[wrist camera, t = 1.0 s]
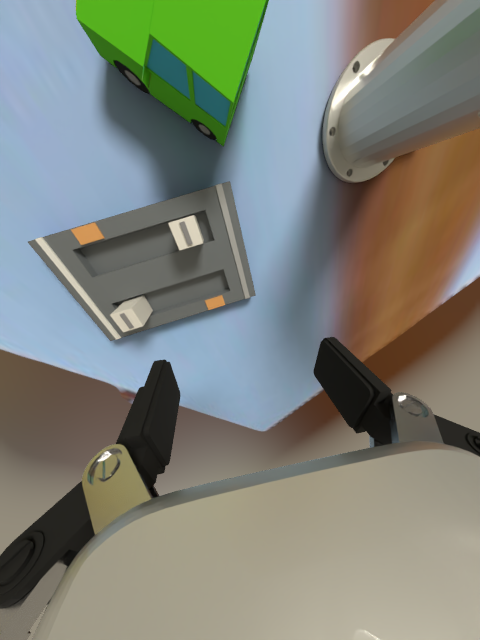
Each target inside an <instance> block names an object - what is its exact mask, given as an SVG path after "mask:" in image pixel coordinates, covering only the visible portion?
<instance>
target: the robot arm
mask: <svg viewBox="0 0 480 640" xmlns="http://www.w3.org/2000/svg"><path fill="white" fill-rule="evenodd" d="M478 128H480V0H435V1H434V2H433V3H432V4H431V5H430V6H429V7H428V8H427V9H426V10H425V11H424V12H423V13H422V14H421V15H420V16H419V17H418V18H417V19H416V20H415V21H413V22H412V23H411V24H410V25H409V26H408V27H407V28H406V29H405V30H404V31H403V32H402V33H401V34H400V35H399V36H398V37H397V38H396V39H393V38H385V39H380V40H377V41H375V42H373V43H371V44H369V45H368V46H366V47H365V48H364V49H363V50H361V51H360V52H359V53H358V54H357V55H356V56H355V57H354V58H353V60H352V61H351V62H350V63H349V64H348V65H347V67H346V68H345V69H344V71H343V72H342V73H341V75H340V77H339V79H338V80H337V82H336V84H335V86H334V88H333V91H332V93H331V95H330V98H329V101H328V104H327V108H326V111H325V116H324V123H323V139H322V140H323V149H324V154H325V158H326V161H327V164H328V166H329V168H330V170H331V171H332V172H333V173H334V175H335V176H336V177H338V178H339V179H340V180H342V181H345V182H347V183H358V182H363V181H366V180H369V179H371V178H373V177H375V176H377V175H378V174H379V173H381V172H382V171H383V170H384V169H386V168H387V166H388V165H389V164H390V163H391V162H392V161H393V160H394V159H395V157H398V156H401V155H404V154H407V153H409V152H412V151H415V150H418V149H421V148H424V147H427V146H430V145H432V144H435V143H438V142H441V141H444V140H447V139H450V138H452V137H455V136H458V135H461V134H464V133H467V132H470V131H472V130H475V129H478ZM329 134H330V135H329ZM314 375H315V377H316V378H317V380H318V381H319V383H320V384H321V386H322V387H323V389H324V390H325V392H326V393H327V394H328V396H329V397H330V399H331V400H332V402H333V403H334V405H335V406H336V408H337V409H338V411H339V412H340V413H341V415H342V417H343V418H344V420H345V421H346V422H347V424H348V425H349V426H350V427H351V428H353V429H354V430H355V432H356V433H361V432H365V431H367V433H368V434H369V435H370V448H367V449H363V450H358V451H353V452H348V453H343V454H339V455H334V456H330V457H325V458H320V459H316V460H311V461H307V462H302V463H297V464H293V465H288V466H284V467H279V468H275V469H270V470H265V471H261V472H256V473H252V474H248V475H243V476H239V477H234V478H230V479H225V480H221V481H216V482H212V483H208V484H204V485H200V486H195V487H192V488H188V489H183V490H180V491H175V492H172V493H169V494H165V495H162V496H159V494H158V493H157V491H156V489H155V487H154V484H155V482H156V478H157V474H162V473H164V470H165V465H168V464H169V461H170V456H171V450H172V444H173V438H174V432H175V425H176V419H177V413H178V407H179V401H180V391H179V388H178V385H177V382H176V379H175V376H174V373H173V370H172V367H171V364H170V362H167V361H166V360H159V361H154V363H153V365H152V368H151V370H150V373H149V375H148V378H147V381H146V383H145V386H144V387H140V388H139V390H138V392H137V394H136V397H135V399H134V401H133V404H132V406H131V409H130V411H129V413H128V416H127V418H126V421H125V423H124V426H123V428H122V430H121V433H120V435H119V438H118V440H117V442H116V444H113V445H111V446H108V447H106V448H104V449H103V450H101V451H100V452H99V453H98V454H96V455H95V456H94V457H93V459H92V460H91V461H90V462H89V464H88V465H87V467H86V469H85V471H84V473H83V477H82V481H81V482H80V483H79V484H78V485H77V486H75V487H74V488H73V489H72V490H71V491H70V492H69V493H67V494H66V495H65V496H64V497H63V498H62V499H61V500H60V501H58V502H57V503H56V504H55V505H54V506H53V507H52V508H50V509H49V510H48V511H47V512H46V513H45V514H44V515H43V516H41V517H40V518H39V519H38V520H37V521H36V522H35V523H33V524H32V525H31V526H30V527H29V528H28V529H27V530H25V531H24V532H23V533H22V534H21V535H20V536H19V537H18V538H17V539H15V540H14V541H13V542H12V543H11V544H10V545H9V546H8V547H7V548H6V549H5V551H4V552H3V553H2V554H1V556H0V640H27V639H28V637H29V636H30V634H31V632H30V631H29V630H30V629H31V627H32V626H33V624H34V623H35V621H36V620H37V618H38V617H39V615H40V614H41V612H42V611H43V609H44V608H45V606H46V605H47V604H48V606H47V608H46V610H45V612H44V614H43V616H42V619H41V621H40V623H39V625H38V627H37V629H36V631H35V634H34V636H33V638H32V640H480V433H479V432H476V431H474V430H471V429H469V428H466V427H464V426H461V425H459V424H456V423H454V422H451V421H449V420H446V419H444V418H441V417H439V416H436V415H434V414H433V412H432V410H431V409H430V408H429V407H428V406H427V404H425V403H424V402H423V401H422V400H420V399H418V398H417V397H415V396H412V395H410V394H407V393H395V394H394V395H393V394H392V393H391V389H390V388H389V387H387V386H386V385H385V384H384V383H383V382H382V381H381V380H380V379H379V378H378V377H377V376H376V375H375V374H374V373H372V372H371V371H370V370H369V369H368V368H367V367H366V366H365V365H364V364H363V363H362V362H361V361H360V360H359V359H357V358H356V357H355V356H354V355H353V354H352V353H351V352H350V351H349V350H348V349H347V348H346V347H345V346H343V345H342V344H341V343H340V342H339V341H338V340H337V339H336V338H335V337H330V338H324V339H323V341H321V344H320V348H319V352H318V356H317V360H316V363H315V367H314Z"/></svg>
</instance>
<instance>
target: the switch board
mask: <svg viewBox="0 0 480 640" xmlns="http://www.w3.org/2000/svg"><path fill="white" fill-rule="evenodd" d="M193 215H194V216H196V218H197V221H198V224H199V227H200V230H201V233H202V236H203V239H204V241H203V243H202V244H199V245H196V246H193V247H189V248H186V249H183V250H179V248H178V246H177V243H176V241H175V238H174V236H173V234H172V231H171V229H170V227H169V224H168V223H169V222H173V221H176V220H179V219H183V218H186V217H189V216H193ZM28 243H29V244H30V246H31V247H32V248H33V249H34V250H35V252H36V253H37V254H38V255H39V256H40V257H41V259H42V260H43V261H44V262H45V263H46V265H47V266H48V267H49V268H50V269H51V271H52V272H53V273H54V274H55V275H56V277H57V278H58V279H59V280H60V281H61V283H62V284H63V285H64V286H65V287H66V288H67V290H68V291H69V292H70V293H71V294H72V296H73V297H74V298H75V299H76V300H77V302H78V303H79V304H80V305H81V306H82V308H83V309H84V310H85V311H86V312H87V314H88V315H89V316H90V317H91V318H92V320H93V321H94V322H95V323H96V324H97V325H98V327H99V328H100V329H101V330H102V331H103V333H104V334H105V335H106V336H107V337H108V339H109V340H110V341H112V340H115V339H116V340H117V339H120V338H122V337H125V336H128V335H131V334H134V333H137V332H141V331H144V330H147V329H150V328H153V327H157V326H160V325H163V324H166V323H169V322H172V321H176V320H179V319H182V318H185V317H188V316H192V315H195V314H198V313H201V312H204V311H207V310H211V309H214V308H217V307H220V306H223V305H227V304H230V303H233V302H236V301H239V300H242V299H247V298H250V297H252V296H255V290H254V286H253V281H252V277H251V273H250V268H249V264H248V259H247V255H246V250H245V246H244V242H243V237H242V233H241V228H240V224H239V220H238V215H237V211H236V206H235V202H234V197H233V193H232V189H231V184H230V181H229V182H226V183H222V184H218V185H215V186H212V187H209V188H206V189H202V190H199V191H196V192H192V193H189V194H186V195H182V196H179V197H176V198H172V199H169V200H166V201H162V202H159V203H156V204H152V205H149V206H146V207H142V208H139V209H136V210H132V211H129V212H126V213H122V214H119V215H116V216H112V217H109V218H105V219H102V220H99V221H95V222H92V223H89V224H85V225H82V226H79V227H75V228H72V229H69V230H65V231H62V232H59V233H55V234H52V235H49V236H45V237H41V238H38V239H35V240H32V241H29V242H28ZM140 295H144V296H145V298H146V300H147V301H148V303H149V305H150V306H151V308H152V310H153V311H152V313H151V314H150V316H149V318H148V319H147V321H146V323H145V324H144V326H142V327H139V328H136V329H133V330H129V331H126V332H122V330H121V329H120V328H119V326H118V325H117V324H116V322H115V321H114V320H113V318H112V317H111V316H110V314H111V313H112V312H114V311H115V310H116V309H117V308H118V307H119V306H120V305H121V304H122V303H123V302H124V301H125V300H128V299H131V298H134V297H137V296H140Z"/></svg>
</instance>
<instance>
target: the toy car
mask: <svg viewBox="0 0 480 640" xmlns="http://www.w3.org/2000/svg"><path fill="white" fill-rule="evenodd" d="M268 1H269V0H76V15H77V20H78V21H79V23H80V24H81V26H82V28H83V29H84V31H85V32H86V34H87V35H88V37H89V38H90V40H91V42H92V43H93V45H94V46H95V48H96V49H97V51H98V53H99V54H100V56H102V57H103V58H104V59H105V60H107V61H108V62H109V63H111V64H112V65H113V66H115V67H116V68H118V69H119V71H120V72H121V73H122V74H123V75H124V76H125V77H126V78H127V79H128V80H129V81H130V82H131V83H132V84H134V85H135V86H136V87H138V88H139V89H140V90H142V91H144V92H146V93H149V92H150V94H151V95H152V96H154V97H155V98H156V99H158V100H159V101H160V102H162V103H163V104H165V105H166V106H167V107H169V108H170V109H172V110H173V111H174V112H176V113H177V114H179V115H180V116H181V117H183V118H184V119H186V120H187V121H188V122H190V123H191V121H192V122H193V124H194V126H195V127H196V128H197V129H198V130H199V131H200V132H201V133H203V134H204V135H205V136H207V137H208V138H210V139H214V140H215V139H217V140H216V141H217V142H218V143H219V144H221V145H222V146H224V143H225V140H226V137H227V134H228V131H229V128H230V125H231V122H232V119H233V116H234V113H235V109H236V106H237V103H238V100H239V97H240V94H241V91H242V88H243V85H244V82H245V79H246V76H247V73H248V70H249V66H250V63H251V60H252V57H253V54H254V51H255V47H256V44H257V40H258V37H259V33H260V30H261V26H262V23H263V19H264V15H265V12H266V8H267V5H268Z"/></svg>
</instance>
